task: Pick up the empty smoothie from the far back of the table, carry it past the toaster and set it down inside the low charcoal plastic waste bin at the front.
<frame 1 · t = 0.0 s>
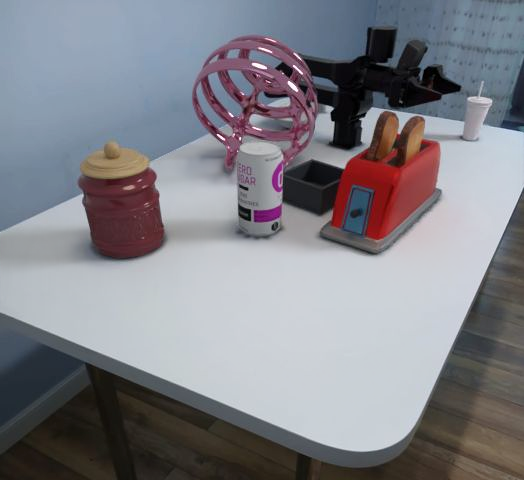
hand: (451, 92, 106), 17 cm above the table, tool horizontal, fingers open, 9 cm apart
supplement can: (259, 228, 95), on the table
bin: (315, 197, 105), on the table
spoon rest: (302, 121, 145), on the table
kitchen canister: (129, 242, 90), on the table
spiral basket: (259, 165, 119), on the table
smoothie: (469, 139, 134), on the table
toaster: (384, 215, 99), on the table
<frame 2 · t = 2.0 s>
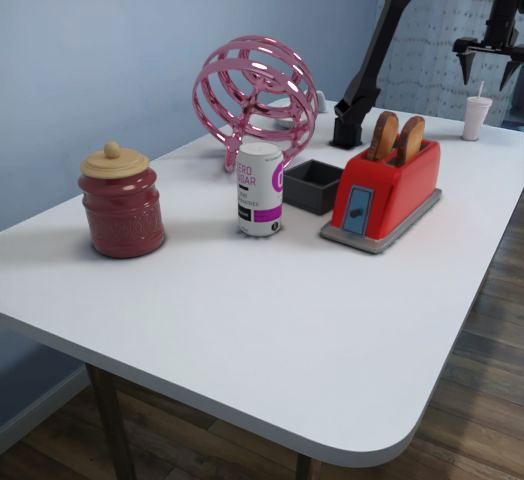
hand: (482, 88, 126), 12 cm above the table, tool pointing down, fingers open, 9 cm apart
nothing on the table moved.
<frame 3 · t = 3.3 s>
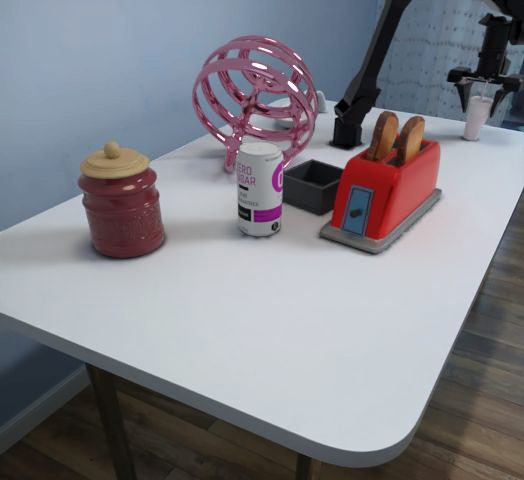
hand: (477, 115, 130), 6 cm above the table, tool pointing down, fingers closed on smoothie, 7 cm apart
smoothie: (469, 138, 134), on the table, touching gripper
everything else where it was.
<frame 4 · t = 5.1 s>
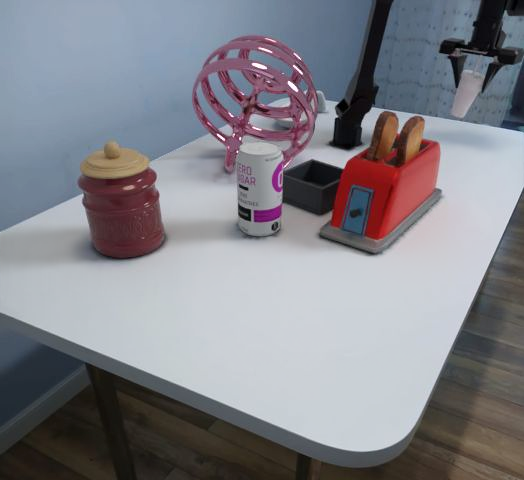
hand: (469, 90, 124), 12 cm above the table, tool pointing down, fingers closed on smoothie, 6 cm apart
smoothie: (456, 115, 128), point 6 cm above the table, touching gripper
everything else where it was.
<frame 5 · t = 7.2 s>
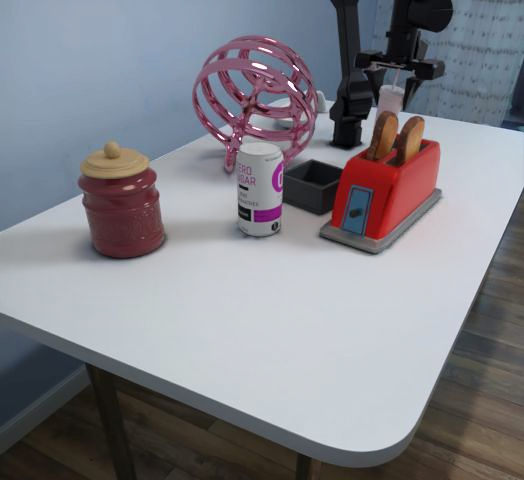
hand: (391, 108, 110), 13 cm above the table, tool pointing down, fingers closed on smoothie, 6 cm apart
smoothie: (380, 135, 114), point 7 cm above the table, touching gripper
everything else where it was.
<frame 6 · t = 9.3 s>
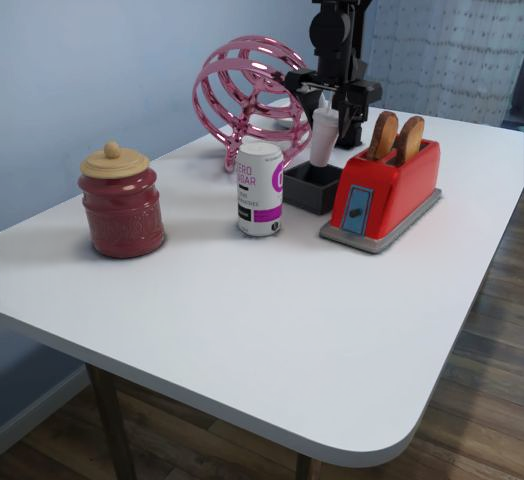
hand: (327, 134, 97), 13 cm above the table, tool pointing down, fingers closed on smoothie, 6 cm apart
smoothie: (318, 163, 102), point 7 cm above the table, touching gripper
everything else where it was.
when the fingers open (7 cm above the table, at t = 11.1 s): smoothie stays where it is, resting on bin.
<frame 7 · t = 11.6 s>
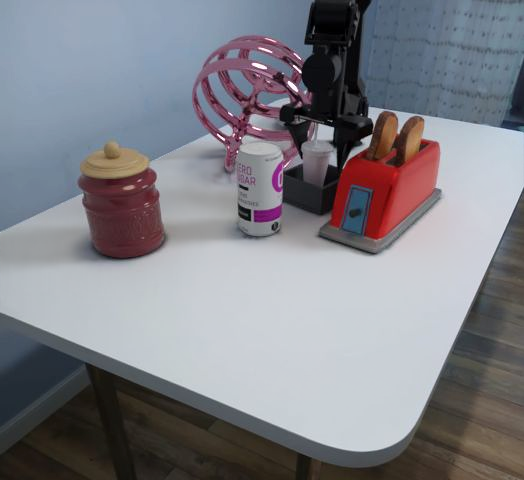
hand: (321, 164, 100), 7 cm above the table, tool pointing down, fingers open, 9 cm apart
smoothie: (312, 193, 105), point 1 cm above the table, touching bin, gripper
everything else where it was.
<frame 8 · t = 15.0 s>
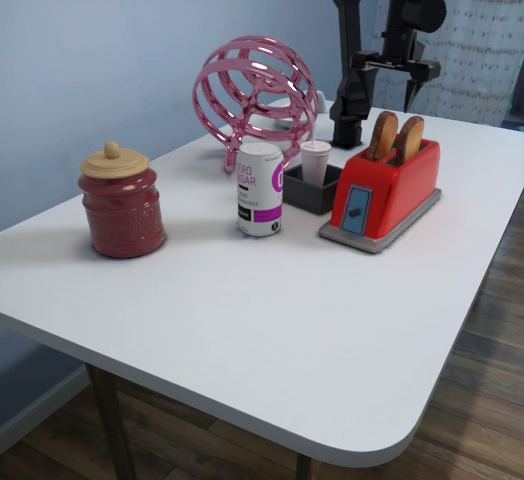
hand: (387, 108, 109), 13 cm above the table, tool pointing down, fingers open, 9 cm apart
smoothie: (312, 193, 105), point 1 cm above the table, touching bin
everything else where it was.
at the end: smoothie inside the target area in the bin (1.0 cm from its centre), point 0.6 cm above the bin's base; the gripper is holding nothing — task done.
